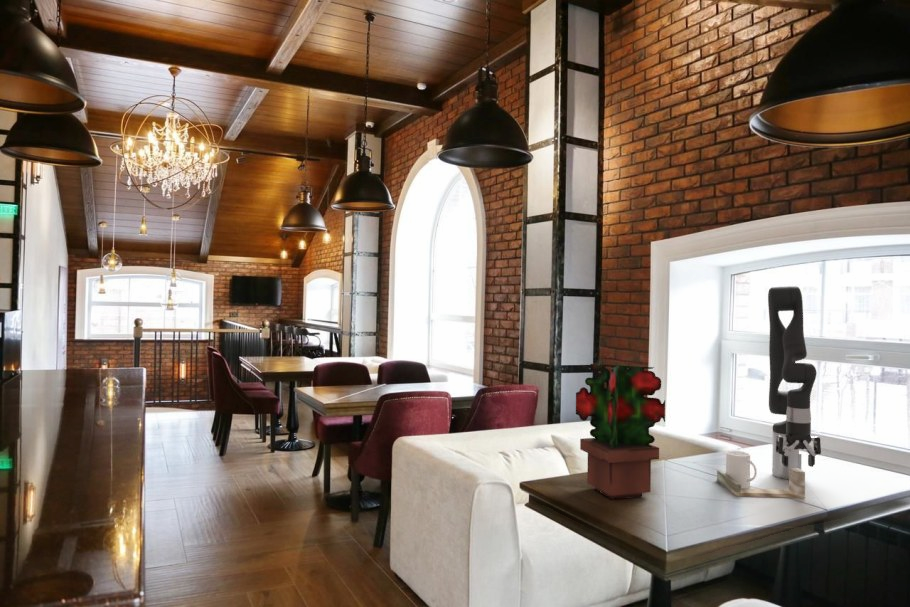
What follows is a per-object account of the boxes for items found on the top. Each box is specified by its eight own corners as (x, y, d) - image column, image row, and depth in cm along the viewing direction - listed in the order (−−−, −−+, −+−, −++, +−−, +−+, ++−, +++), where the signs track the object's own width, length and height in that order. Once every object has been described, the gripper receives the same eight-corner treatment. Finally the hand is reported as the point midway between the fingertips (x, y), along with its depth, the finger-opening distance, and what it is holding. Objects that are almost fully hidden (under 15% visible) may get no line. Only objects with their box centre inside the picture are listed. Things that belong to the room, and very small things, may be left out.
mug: (763, 490, 223) (763, 457, 223) (745, 492, 220) (745, 459, 220) (737, 481, 234) (737, 449, 234) (720, 483, 231) (720, 451, 231)
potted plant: (664, 500, 211) (665, 368, 211) (606, 505, 204) (607, 369, 204) (628, 482, 232) (629, 362, 232) (575, 486, 226) (576, 363, 226)
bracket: (779, 482, 233) (779, 458, 233) (804, 497, 214) (805, 471, 214) (716, 480, 234) (717, 456, 234) (736, 495, 215) (736, 470, 215)
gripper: (813, 417, 219) (813, 463, 220) (772, 417, 220) (772, 462, 220) (825, 422, 212) (824, 469, 212) (782, 422, 213) (782, 468, 213)
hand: (798, 466), depth 216 cm, fingers open, 8 cm apart
